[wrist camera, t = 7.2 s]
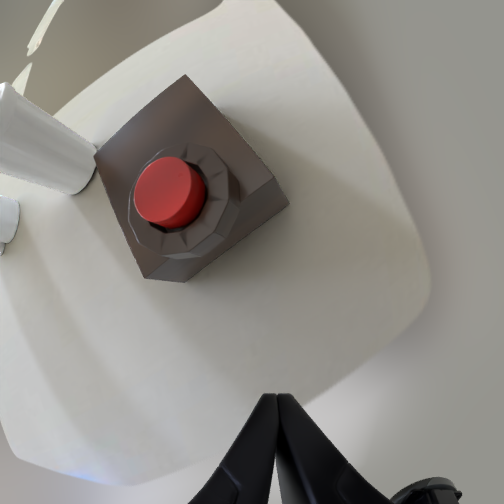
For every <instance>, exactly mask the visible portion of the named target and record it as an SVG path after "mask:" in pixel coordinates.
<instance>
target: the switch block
mask: <svg viewBox="0 0 504 504" xmlns="http://www.w3.org/2000/svg"><path fill="white" fill-rule="evenodd" d="M93 157H94V160H95V163H96V166H97V169H98V171H99V174H100V177H101V179H102V182H103V185H104V187H105V190H106V193H107V195H108V198H109V200H110V203H111V205H112V208H113V210H114V212H115V215H116V217H117V220H118V222H119V224H120V227H121V229H122V231H123V234H124V236H125V238H126V240H127V243H128V245H129V247H130V249H131V251H132V254H133V256H134V258H135V260H136V262H137V264H138V266H139V268H140V270H141V272H142V275H143V277H144V278H145V279H153V280H162V281H172V282H182V283H184V282H186V281H187V280H188V279H190V278H191V277H192V276H193V275H195V274H196V273H197V272H199V271H200V270H201V269H203V268H204V267H205V266H207V265H208V264H209V263H211V262H212V261H213V260H215V259H216V258H217V257H219V256H220V255H221V254H223V253H224V252H225V251H227V250H228V249H229V248H231V247H232V246H233V245H235V244H236V243H237V242H239V241H240V240H241V239H243V238H244V237H245V236H247V235H248V234H249V233H251V232H252V231H253V230H255V229H256V228H257V227H259V226H260V225H261V224H263V223H264V222H265V221H267V220H268V219H270V218H271V217H272V216H274V215H275V214H276V213H278V212H279V211H280V210H282V209H283V208H284V207H286V206H287V205H289V202H288V200H287V198H286V196H285V194H284V193H283V191H282V189H281V187H280V186H279V184H278V182H277V180H276V179H275V177H274V176H273V174H272V173H271V172H270V171H269V169H268V168H267V167H266V166H265V164H264V163H263V162H262V161H261V160H260V158H259V157H258V156H257V155H256V153H255V152H254V151H253V150H252V149H251V148H250V146H249V145H248V144H247V143H246V142H245V140H244V139H243V138H242V137H241V136H240V134H239V133H238V132H237V131H236V130H235V129H234V127H233V126H232V125H231V124H230V123H229V122H228V121H227V119H226V118H225V117H224V116H223V115H222V114H221V113H220V111H219V110H218V109H217V108H216V107H215V106H214V105H213V104H212V103H211V101H210V100H209V99H208V98H207V97H206V96H205V95H204V94H203V93H202V91H201V90H200V89H199V88H198V87H197V86H196V85H195V84H194V83H193V82H192V81H191V80H190V78H189V77H188V76H187V75H186V74H185V75H183V76H182V77H181V78H179V79H178V80H177V81H176V82H174V83H173V84H172V85H170V86H169V87H168V88H167V89H165V90H164V91H163V92H162V93H160V94H159V95H158V96H157V97H156V98H154V99H153V100H152V101H151V102H150V103H148V104H147V105H146V106H145V107H144V108H143V109H141V110H140V111H139V112H138V113H137V114H136V115H135V116H134V117H132V118H131V119H130V120H129V121H128V122H127V123H126V124H125V125H124V126H123V127H122V128H121V129H120V130H118V131H117V132H116V133H115V134H114V135H113V136H112V137H111V138H110V139H109V140H108V141H107V142H106V143H105V144H104V145H103V146H102V147H101V148H100V149H99V150H98V151H97V152H96V154H95V155H94V156H93ZM164 157H176V158H179V159H181V160H183V161H184V162H185V163H186V164H188V165H189V166H190V167H191V168H192V169H194V170H195V171H196V172H197V173H198V174H199V175H200V176H201V177H202V179H203V181H204V184H205V191H206V193H205V201H204V204H203V206H202V209H201V211H200V212H199V214H198V215H197V216H196V217H195V219H194V220H192V221H191V222H190V223H189V224H187V225H185V226H183V227H180V228H176V229H169V228H165V227H163V226H160V225H158V224H155V223H152V222H150V221H147V220H146V219H144V218H143V217H142V216H141V215H140V214H139V213H138V211H137V209H136V206H135V202H134V192H135V187H136V184H137V181H138V179H139V177H140V175H141V174H142V172H143V171H144V170H145V169H146V168H147V167H148V166H149V165H150V164H151V163H153V162H154V161H156V160H158V159H160V158H164Z"/></svg>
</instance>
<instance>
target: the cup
mask: <svg viewBox="0 0 504 504" xmlns="http://www.w3.org/2000/svg"><path fill="white" fill-rule="evenodd" d="M96 152H97V151H96V148H95V147H94V145H93V144H92V143H90V142H89V141H87V140H86V139H84V138H83V137H81V136H80V135H78V134H77V133H76V132H74V131H73V130H71V129H70V128H68V127H67V126H65V125H64V124H62V123H61V122H59V121H58V120H57V119H55V118H54V117H52V116H51V115H49V114H48V113H46V112H45V111H43V110H42V109H41V108H39V107H38V106H36V105H35V104H33V103H32V102H30V101H29V100H27V99H26V98H25V97H23V96H22V95H20V94H19V93H17V92H16V91H15V88H13V87H12V86H11V85H10V84H9V83H8V82H3V83H2V84H0V173H3V174H6V175H10V176H13V177H16V178H19V179H22V180H25V181H28V182H32V183H35V184H38V185H41V186H44V187H47V188H50V189H54V190H57V191H60V192H63V193H66V194H69V195H73V194H76V193H78V192H79V191H80V190H82V189H83V188H84V187H85V186H86V184H87V183H88V181H89V180H90V178H91V177H92V174H93V172H94V169H95V167H96V163H95V160H94V157H93V156H94V155H95V154H96Z"/></svg>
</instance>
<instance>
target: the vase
mask: <svg viewBox="0 0 504 504" xmlns="http://www.w3.org/2000/svg"><path fill="white" fill-rule="evenodd" d="M19 212H20V210H19V204H18V202H17V201H16V200H14V199H11V198H8V197H5V196H2V195H0V256H1V255H2V253H3V251H4V246H5V243H9V242H10V241H11V240H12V239H13V237H14V235H15V233H16V230H17V226H18V221H19Z"/></svg>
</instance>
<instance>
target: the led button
mask: <svg viewBox="0 0 504 504" xmlns="http://www.w3.org/2000/svg"><path fill="white" fill-rule="evenodd" d="M205 193H206V191H205V184H204V181H203V179H202V177H201V176H200V175H199V174H198V173H197V172H196V171H195V170H194V169H192V168H191V167H190V166H189V165H188V164H186V163H185V162H184V161H183V160H181V159H179V158H176V157H164V158H160V159H158V160H156V161H154V162H153V163H151V164H150V165H149V166H148V167H147V168H146V169H145V170H144V171H143V172H142V174H141V175H140V177H139V179H138V181H137V184H136V187H135V192H134V202H135V206H136V209H137V211H138V213H139V214H140V215H141V216H142V217H143V218H144V219H146V220H147V221H150V222H152V223H155V224H158V225H160V226H163V227H165V228H169V229H176V228H180V227H183V226H185V225H187V224H189V223H190V222H191V221H192V220H194V219H195V217H196V216H197V215H198V214H199V212H200V211H201V209H202V206H203V204H204V201H205Z"/></svg>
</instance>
